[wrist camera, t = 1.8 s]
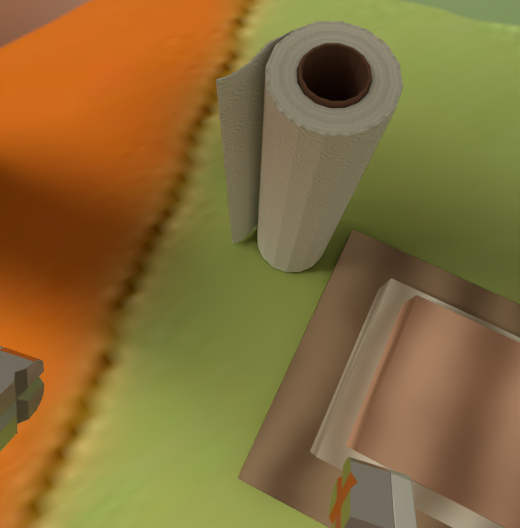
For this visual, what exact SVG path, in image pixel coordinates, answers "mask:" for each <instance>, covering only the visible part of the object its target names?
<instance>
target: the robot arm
mask: <svg viewBox="0 0 520 528" xmlns="http://www.w3.org/2000/svg"><path fill="white" fill-rule="evenodd" d="M43 371H44V368H43V361H41V360H40V359H37V358H34V357H31V356H28V355H25V354H22V353H20V352H17V351H14V350H11V349H8V348H4V347H1V346H0V451H1V450H2V449H3V448H4V447H5V446H6V445H7V443H8V442H9V441H10V440H11V439H12V438H13V437H14V435H15V434H16V433H17V424H18V423H20V422H23V421H25V420H28V419H29V418H30V417H31V416H32V415H33V413H34V412H35V411H36V410H37V408H38V406H39V404H40V402H41V400H42V397H43V392H44V383H43V382H42V380H41V379H40V377H39V376H40V374H41V373H42V372H43ZM329 519H330V520H331V522H332V524H333V525H332V527H331V528H417V521H416V514H415V506H414V498H413V490H412V482H411V478H410V477H409V475H406V474H403V473H400V472H397V471H393V470H390V469H387V468H384V467H381V466H378V465H374V464H371V463H368V462H364V461H361V460H358V459H355V458H351V457H348V458H347V459H346V461H345V463H344V465H343V476H341V477H339V478H337V480H336V483H335V485H334V488H333V492H332V495H331V500H330V507H329Z"/></svg>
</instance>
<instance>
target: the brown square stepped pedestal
mask: <svg viewBox="0 0 520 528" xmlns="http://www.w3.org/2000/svg"><path fill="white" fill-rule="evenodd" d="M348 457H351V458H355V459H358V460H361V461H364V462H368V463H371V464H374V465H378V466H381V467H384V468H387V469H390V470H393V471H397V472H400V473H403V474H406V475H409V477H410V478H411V482H412V490H413V498H414V506H415V514H416V521H417V528H520V305H519V304H516V303H514V302H512V301H510V300H508V299H505V298H503V297H501V296H499V295H497V294H494V293H492V292H490V291H488V290H486V289H484V288H481V287H479V286H477V285H475V284H473V283H470V282H468V281H466V280H464V279H462V278H459V277H457V276H455V275H453V274H451V273H448V272H446V271H444V270H442V269H440V268H437V267H435V266H433V265H431V264H429V263H426V262H424V261H422V260H420V259H418V258H415V257H413V256H411V255H409V254H407V253H405V252H402V251H400V250H398V249H396V248H394V247H391V246H389V245H387V244H385V243H383V242H380V241H378V240H376V239H374V238H372V237H369V236H367V235H365V234H363V233H361V232H358V231H356V230H354V229H353V230H352V232H351V233H350V235H349V238H348V240H347V242H346V244H345V246H344V248H343V251H342V253H341V255H340V257H339V259H338V261H337V264H336V266H335V268H334V270H333V272H332V274H331V277H330V279H329V281H328V283H327V285H326V287H325V290H324V292H323V294H322V296H321V298H320V300H319V303H318V305H317V307H316V309H315V311H314V313H313V316H312V318H311V320H310V322H309V324H308V326H307V329H306V331H305V333H304V335H303V337H302V339H301V342H300V344H299V346H298V348H297V350H296V352H295V355H294V357H293V359H292V361H291V363H290V365H289V368H288V370H287V372H286V374H285V376H284V378H283V381H282V383H281V385H280V387H279V389H278V391H277V394H276V396H275V398H274V400H273V402H272V404H271V407H270V409H269V411H268V413H267V415H266V417H265V420H264V422H263V424H262V426H261V428H260V430H259V433H258V435H257V437H256V439H255V441H254V443H253V446H252V448H251V450H250V452H249V454H248V456H247V459H246V461H245V463H244V465H243V467H242V469H241V472H240V474H239V476H238V479H240V480H242V481H244V482H245V483H247V484H249V485H251V486H253V487H255V488H257V489H259V490H260V491H262V492H264V493H266V494H268V495H270V496H272V497H273V498H275V499H277V500H279V501H281V502H283V503H285V504H286V505H288V506H290V507H292V508H294V509H296V510H298V511H299V512H301V513H303V514H305V515H307V516H309V517H311V518H313V519H314V520H316V521H318V522H320V523H322V524H324V525H326V526H327V527H329V528H331V527H332V525H333V524H332V522H331V520H330V519H329V507H330V500H331V495H332V492H333V488H334V485H335V483H336V480H337V478H339V477H341V476H343V465H344V463H345V461H346V459H347V458H348Z"/></svg>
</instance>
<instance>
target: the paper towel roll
mask: <svg viewBox="0 0 520 528" xmlns="http://www.w3.org/2000/svg"><path fill="white" fill-rule="evenodd" d="M216 84H217V94H218V103H219V113H220V123H221V133H222V143H223V153H224V163H225V173H226V182H227V192H228V202H229V212H230V222H231V232H232V242H233V244H234V243H237V242H240V241H241V240H242V239H244V238H245V237H246V236H248V235H249V234H250V233H251V232H252V230H253V229H254V228H255V227H256V226H257V224H258V228H257V243H258V248H259V251H260V253H261V255H262V257H263V259H264V260H266V261H267V262H268V263H269V264H270V265H271V266H272V267H273V268H276V269H279V270H281V271H284V272H301V271H303V270H306V269H308V268H310V267H313V266H314V264H315V263H316V262H317V261H318V260H319V259H320V258H321V257H322V255H323V253H324V251H325V249H326V247H327V245H328V243H329V241H330V239H331V237H332V235H333V233H334V231H335V229H336V227H337V225H338V223H339V221H340V219H341V217H342V215H343V213H344V211H345V209H346V207H347V205H348V203H349V201H350V199H351V197H352V195H353V193H354V191H355V189H356V187H357V185H358V183H359V181H360V179H361V177H362V175H363V173H364V171H365V169H366V167H367V165H368V163H369V161H370V159H371V157H372V155H373V153H374V151H375V149H376V147H377V145H378V143H379V141H380V139H381V137H382V135H383V133H384V131H385V129H386V127H387V125H388V123H389V121H390V119H391V117H392V115H393V113H394V111H395V109H396V106H397V103H398V100H399V97H400V95H401V92H402V89H403V84H402V77H401V70H400V64H399V62H398V61H397V59H396V58H395V56H394V54H393V53H392V51H391V50H390V48H389V47H388V45H387V44H386V43H385V42H383V41H382V40H381V39H379V38H378V37H377V36H375V35H374V34H372V33H371V32H370V31H368V30H367V29H364V28H361V27H358V26H355V25H352V24H348V23H345V22H342V21H337V22H314V23H311V24H309V25H306V26H304V27H301V28H298V29H296V30H293V31H291V32H289V33H287V34H285V35H282V36H280V37H278V38H276V39H274V40H272V41H270V42H268V43H267V44H266V45H265V46H264V47H263V48H262V49H261V50H260V51H259V52H258V53H257V55H256V56H255V57H254V58H253V59H252V60H251V61H250V62H249V63H248V64H246V65H245V66H243V67H242V68H240V69H239V70H237V71H236V72H234V73H233V74H231V75H229V76H226V77H223V78H220V79H217V80H216Z"/></svg>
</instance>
